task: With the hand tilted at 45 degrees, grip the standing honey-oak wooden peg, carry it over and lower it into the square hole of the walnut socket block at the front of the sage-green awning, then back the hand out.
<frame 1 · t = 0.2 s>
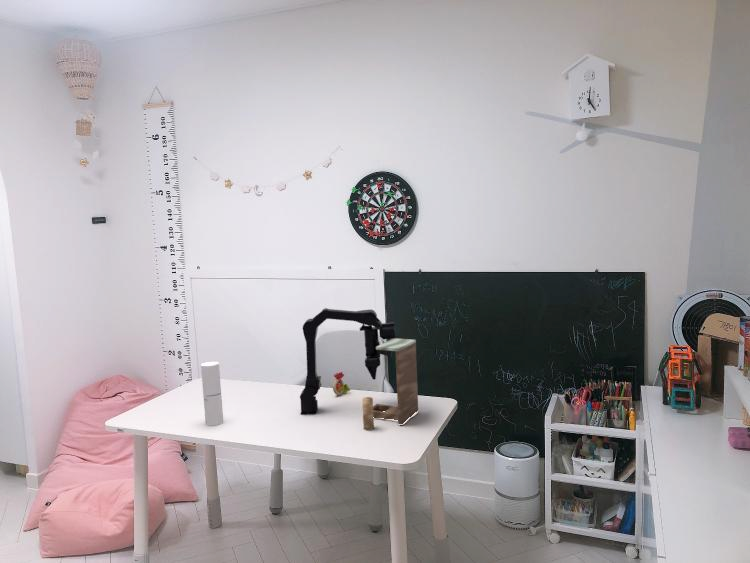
hand: (374, 376, 255), 15 cm above the table, tool pointing down, fingers open, 9 cm apart
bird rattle: (340, 395, 279), on the table
socket stand: (381, 415, 249), on the table
peg: (368, 428, 235), on the table
cylindrical container: (214, 423, 249), on the table
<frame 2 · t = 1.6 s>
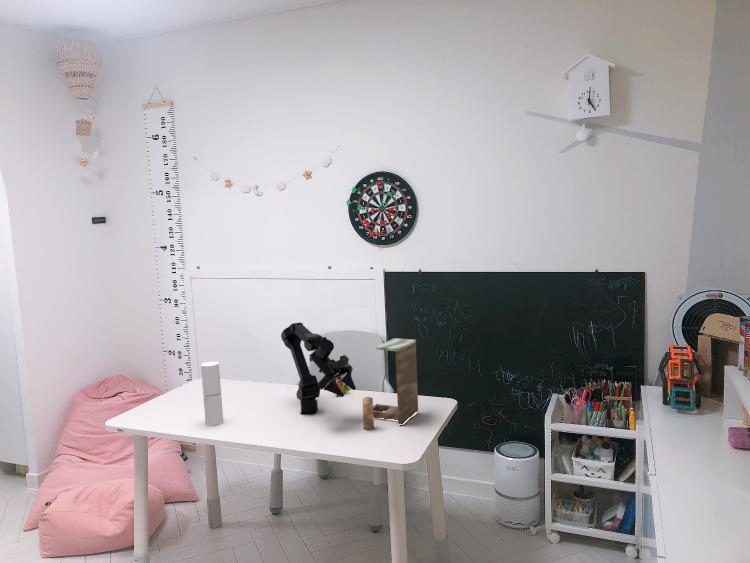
hand: (349, 392, 237), 13 cm above the table, tool tilted 45°, fingers open, 9 cm apart
nothing on the table moved.
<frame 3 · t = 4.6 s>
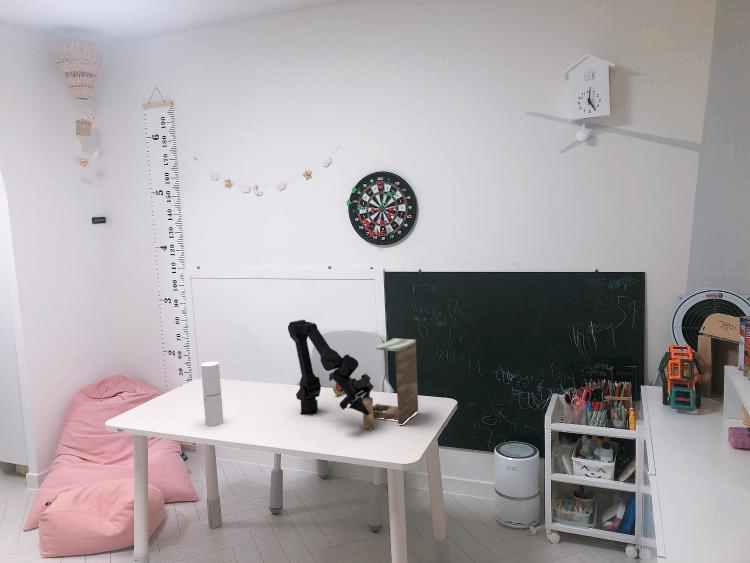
hand: (371, 412, 234), 7 cm above the table, tool tilted 45°, fingers closed on peg, 4 cm apart
peg: (368, 428, 235), on the table, touching gripper
everything else where it was.
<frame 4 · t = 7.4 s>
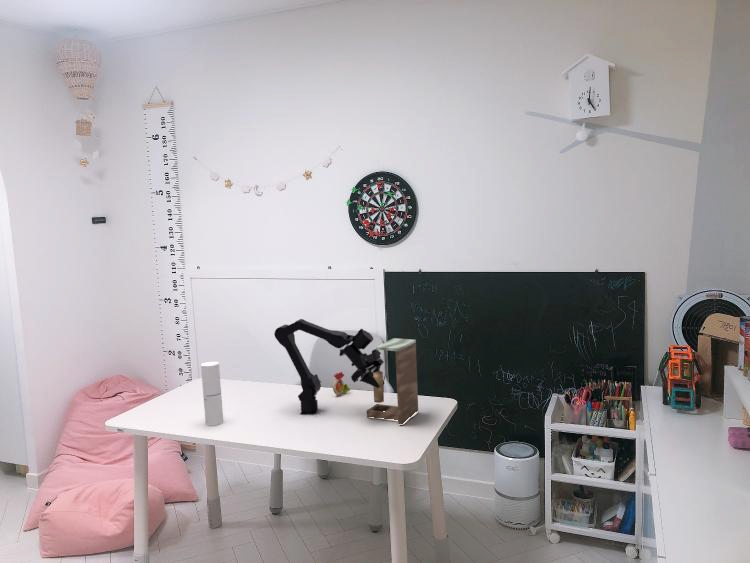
hand: (381, 385, 244), 14 cm above the table, tool tilted 45°, fingers closed on peg, 4 cm apart
peg: (379, 401, 246), point 7 cm above the table, touching gripper
everything else where it was.
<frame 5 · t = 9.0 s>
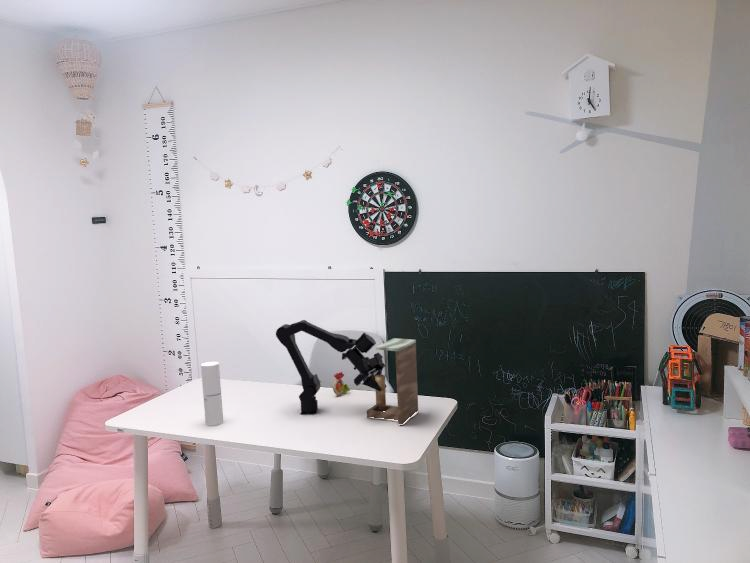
hand: (383, 389, 247), 11 cm above the table, tool tilted 45°, fingers closed on peg, 4 cm apart
peg: (381, 404, 248), point 5 cm above the table, touching gripper
everything else where it was.
when the fingers open (8 cm above the table, at t = 10.3 s): peg drops 1 cm, resting in socket stand.
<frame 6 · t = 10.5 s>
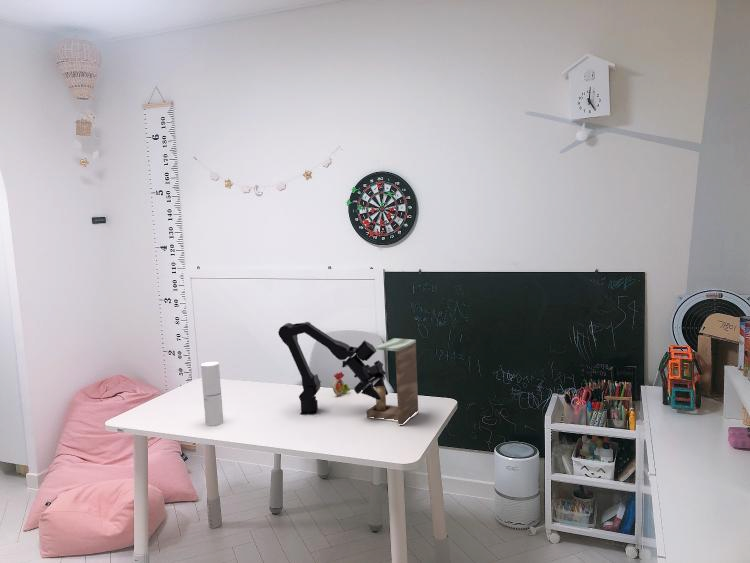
hand: (383, 397, 247), 8 cm above the table, tool tilted 45°, fingers open, 6 cm apart
peg: (381, 415, 249), resting in socket stand
everything else where it was.
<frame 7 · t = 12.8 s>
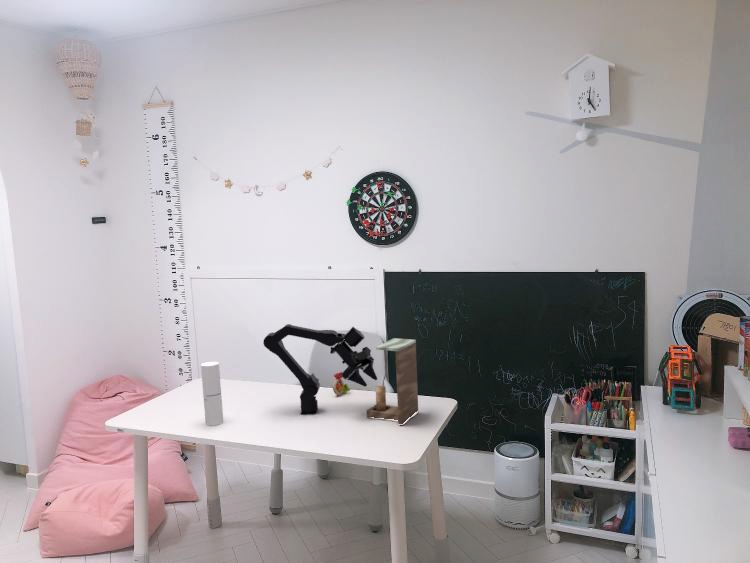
hand: (371, 382, 249), 14 cm above the table, tool tilted 45°, fingers open, 9 cm apart
nothing on the table moved.
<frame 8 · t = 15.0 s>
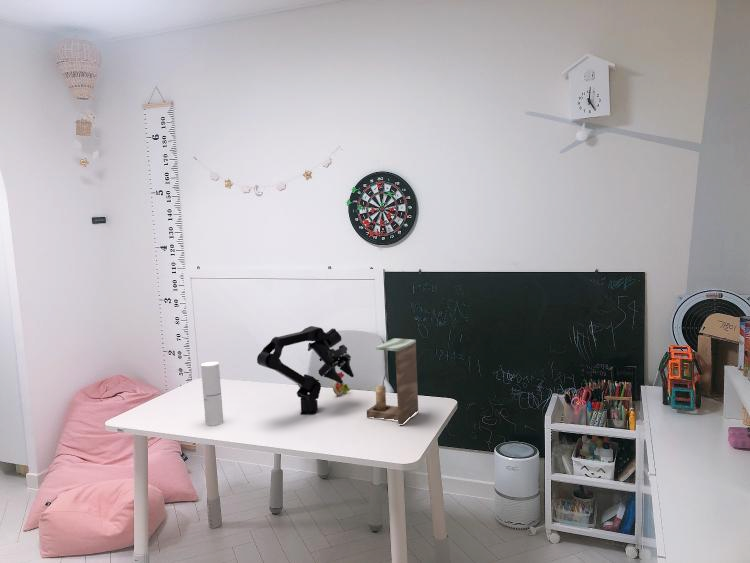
hand: (347, 379, 255), 14 cm above the table, tool tilted 45°, fingers open, 9 cm apart
nothing on the table moved.
at the end: peg 0.0 cm off-centre on the socket stand, point 0.0 cm above the socket stand's base; peg tilted 0°; the gripper is holding nothing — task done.
